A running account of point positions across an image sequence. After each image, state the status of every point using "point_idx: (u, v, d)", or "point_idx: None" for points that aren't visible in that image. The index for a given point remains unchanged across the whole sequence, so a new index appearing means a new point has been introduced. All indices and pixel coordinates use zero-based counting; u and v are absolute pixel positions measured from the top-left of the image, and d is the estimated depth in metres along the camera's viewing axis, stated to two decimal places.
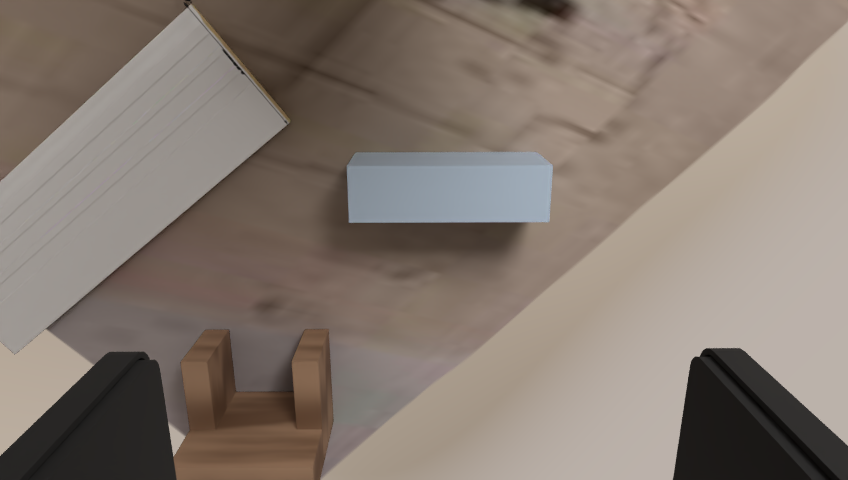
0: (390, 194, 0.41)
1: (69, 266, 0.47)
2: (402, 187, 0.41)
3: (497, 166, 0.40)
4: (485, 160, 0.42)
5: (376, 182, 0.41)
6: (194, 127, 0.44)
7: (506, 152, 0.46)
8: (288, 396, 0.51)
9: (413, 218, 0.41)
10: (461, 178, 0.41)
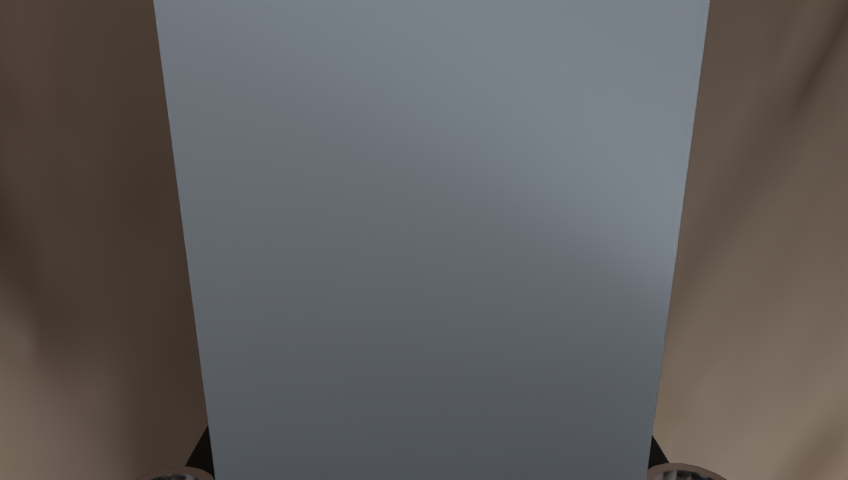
0: (432, 326, 0.05)
1: None
2: (484, 409, 0.05)
3: None
4: None
5: (539, 221, 0.05)
6: None
7: None
8: None
9: (246, 477, 0.05)
10: None
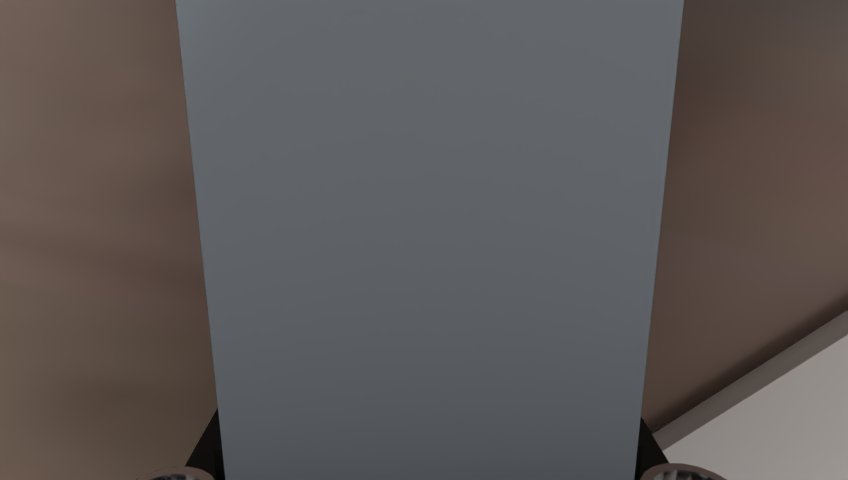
0: (429, 293, 0.05)
1: None
2: (480, 377, 0.06)
3: None
4: None
5: (531, 192, 0.05)
6: None
7: None
8: None
9: (252, 447, 0.06)
10: None
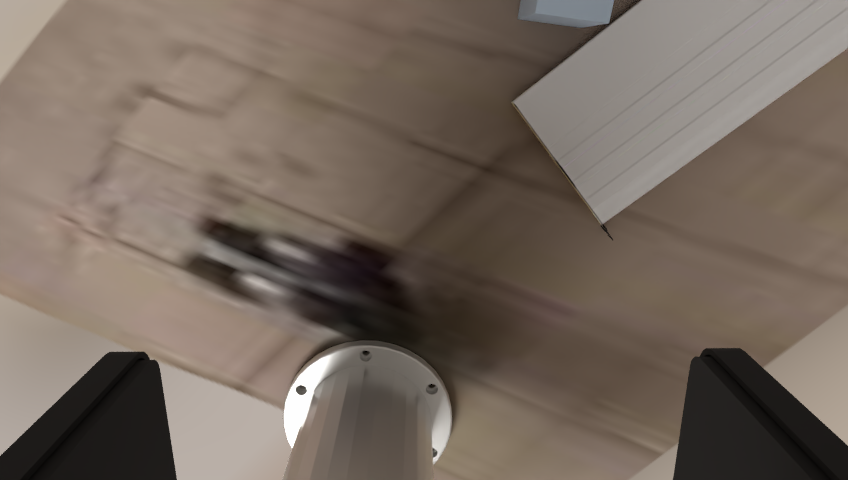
0: None
1: None
2: None
3: None
4: None
5: None
6: (624, 95, 0.38)
7: None
8: None
9: None
10: None
